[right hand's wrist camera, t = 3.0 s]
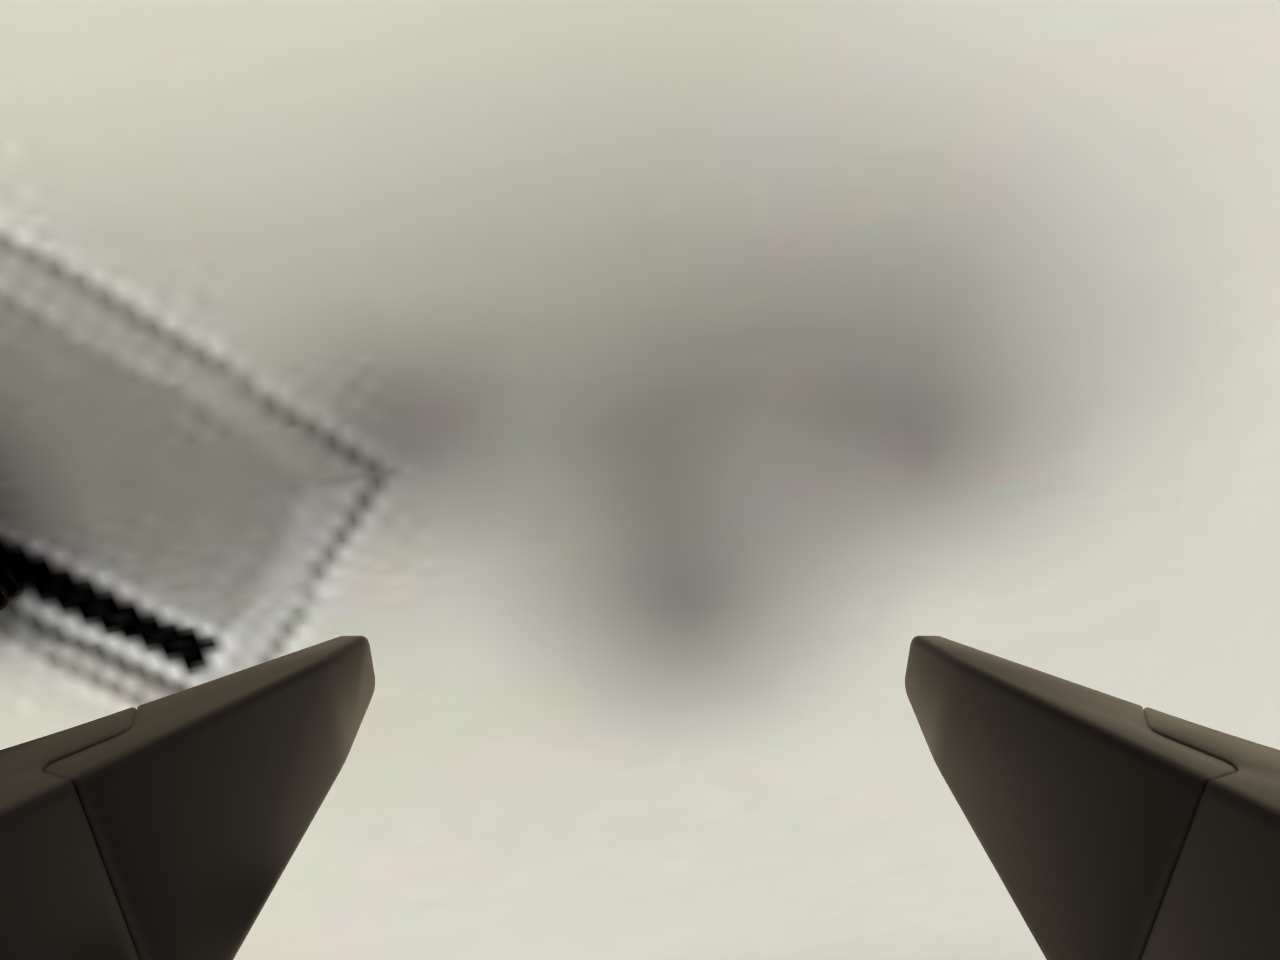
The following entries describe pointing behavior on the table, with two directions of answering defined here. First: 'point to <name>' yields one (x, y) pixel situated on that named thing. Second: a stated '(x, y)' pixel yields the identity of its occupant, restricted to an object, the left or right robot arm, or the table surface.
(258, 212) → the table surface
